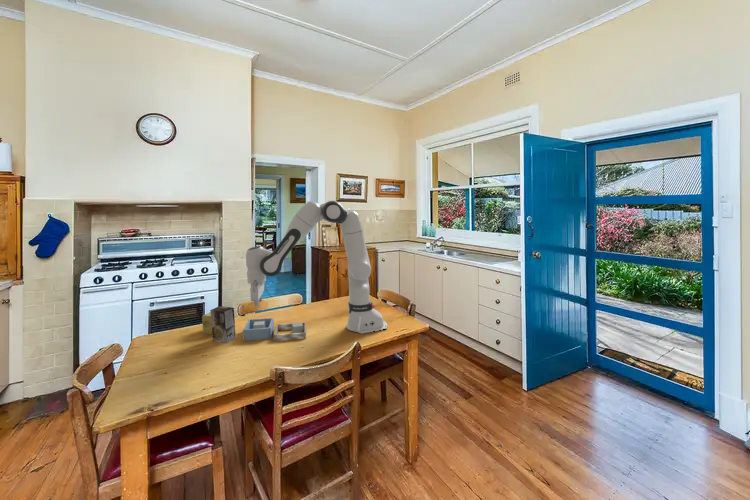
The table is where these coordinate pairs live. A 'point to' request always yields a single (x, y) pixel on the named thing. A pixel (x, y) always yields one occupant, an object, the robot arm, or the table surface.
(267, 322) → the bin
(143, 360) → the table surface
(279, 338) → the corral
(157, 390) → the table surface
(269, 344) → the table surface
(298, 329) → the stone
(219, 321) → the coffee box
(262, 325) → the stone
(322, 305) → the table surface
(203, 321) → the cheese
